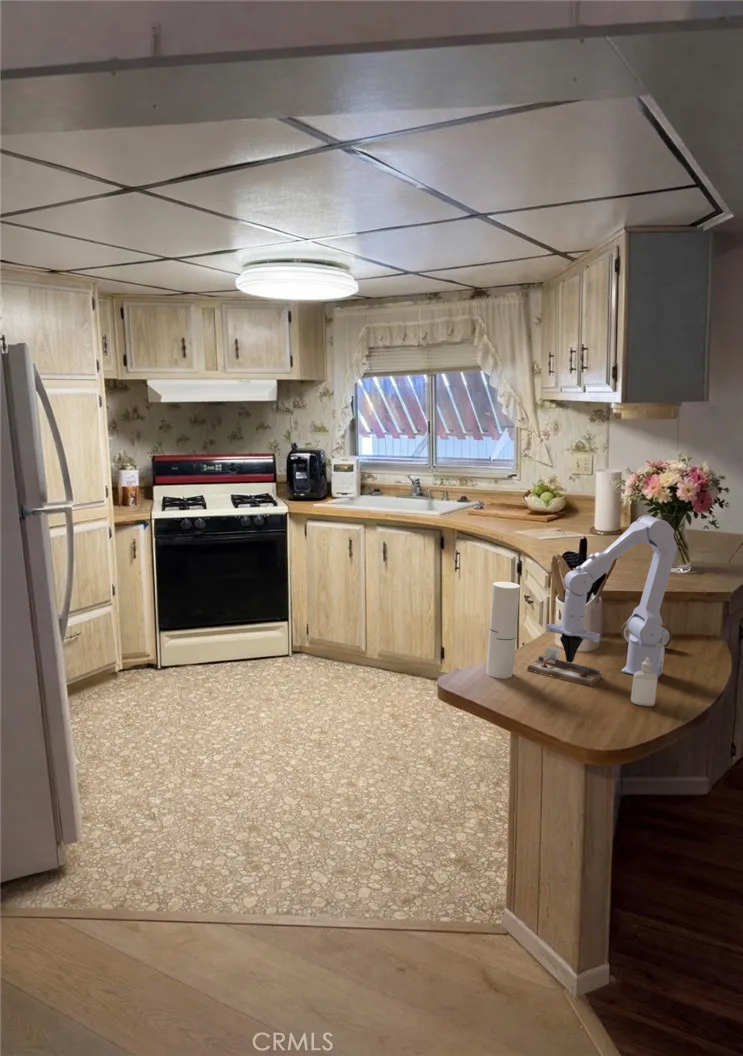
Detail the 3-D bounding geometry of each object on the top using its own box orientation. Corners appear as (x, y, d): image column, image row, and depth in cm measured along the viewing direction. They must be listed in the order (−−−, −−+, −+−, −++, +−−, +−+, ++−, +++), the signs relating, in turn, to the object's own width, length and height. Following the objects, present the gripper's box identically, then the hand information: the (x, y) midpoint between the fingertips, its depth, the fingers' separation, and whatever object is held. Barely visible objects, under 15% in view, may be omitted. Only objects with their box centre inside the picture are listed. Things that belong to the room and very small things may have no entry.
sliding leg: (559, 661, 214) (560, 647, 213) (549, 668, 208) (550, 654, 207) (548, 659, 215) (550, 645, 215) (539, 665, 209) (540, 652, 209)
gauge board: (601, 677, 207) (603, 665, 207) (591, 686, 200) (592, 674, 199) (539, 662, 217) (540, 650, 216) (527, 670, 210) (528, 658, 209)
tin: (670, 648, 235) (673, 622, 234) (670, 651, 232) (673, 625, 231) (619, 641, 240) (622, 616, 238) (619, 644, 237) (622, 618, 235)
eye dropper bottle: (651, 709, 187) (656, 662, 185) (628, 702, 190) (633, 657, 188) (656, 704, 190) (661, 658, 188) (634, 697, 193) (639, 653, 191)
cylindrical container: (496, 667, 211) (503, 580, 207) (517, 674, 206) (525, 585, 202) (481, 672, 206) (487, 583, 202) (502, 680, 201) (509, 589, 197)
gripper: (543, 612, 209) (539, 658, 211) (595, 622, 201) (590, 671, 203) (553, 607, 214) (549, 652, 217) (603, 617, 206) (599, 664, 209)
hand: (569, 661), depth 210 cm, fingers closed
